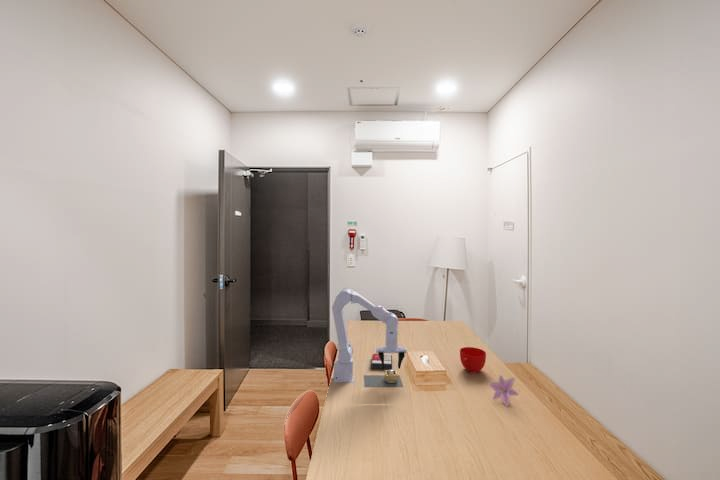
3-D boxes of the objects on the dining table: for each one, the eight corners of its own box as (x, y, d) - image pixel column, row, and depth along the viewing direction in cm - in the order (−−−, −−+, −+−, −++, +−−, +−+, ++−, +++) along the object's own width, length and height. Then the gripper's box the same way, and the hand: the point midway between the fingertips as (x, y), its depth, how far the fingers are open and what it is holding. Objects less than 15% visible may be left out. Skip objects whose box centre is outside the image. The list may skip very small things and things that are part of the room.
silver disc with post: (385, 384, 151) (385, 373, 151) (383, 377, 157) (383, 367, 157) (398, 383, 151) (398, 373, 151) (396, 377, 157) (396, 367, 157)
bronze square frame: (386, 381, 151) (386, 375, 151) (384, 376, 157) (384, 370, 157) (397, 381, 151) (397, 375, 151) (396, 376, 157) (396, 370, 157)
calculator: (392, 353, 181) (392, 363, 166) (391, 361, 181) (392, 371, 166) (372, 352, 182) (371, 362, 167) (372, 360, 182) (370, 370, 167)
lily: (485, 393, 146) (482, 379, 142) (508, 382, 147) (505, 368, 143) (503, 415, 135) (500, 400, 131) (527, 403, 136) (525, 388, 132)
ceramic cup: (451, 372, 164) (451, 353, 164) (466, 363, 177) (466, 345, 177) (476, 381, 156) (476, 360, 155) (489, 370, 168) (490, 351, 168)
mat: (364, 388, 148) (364, 387, 148) (363, 376, 160) (363, 375, 160) (403, 387, 148) (403, 386, 148) (399, 376, 160) (399, 375, 160)
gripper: (377, 342, 149) (376, 371, 150) (408, 342, 150) (407, 371, 150) (375, 337, 156) (375, 365, 157) (405, 337, 157) (405, 365, 157)
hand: (391, 367), depth 154 cm, fingers open, 7 cm apart
